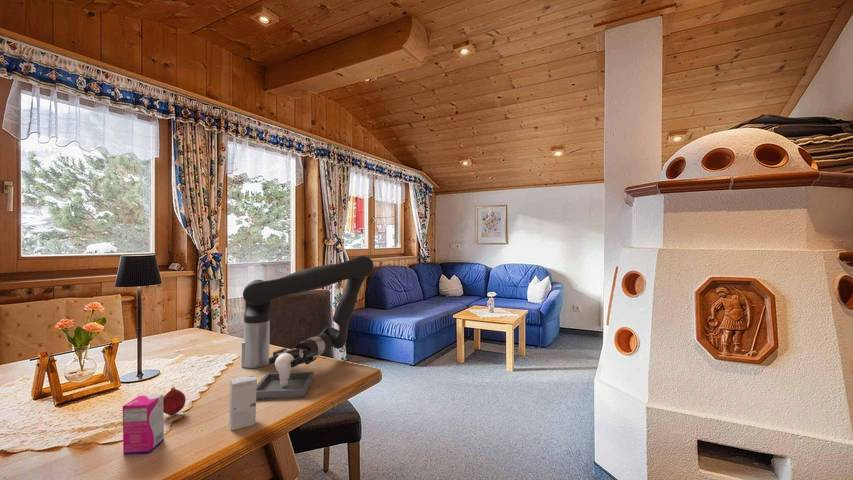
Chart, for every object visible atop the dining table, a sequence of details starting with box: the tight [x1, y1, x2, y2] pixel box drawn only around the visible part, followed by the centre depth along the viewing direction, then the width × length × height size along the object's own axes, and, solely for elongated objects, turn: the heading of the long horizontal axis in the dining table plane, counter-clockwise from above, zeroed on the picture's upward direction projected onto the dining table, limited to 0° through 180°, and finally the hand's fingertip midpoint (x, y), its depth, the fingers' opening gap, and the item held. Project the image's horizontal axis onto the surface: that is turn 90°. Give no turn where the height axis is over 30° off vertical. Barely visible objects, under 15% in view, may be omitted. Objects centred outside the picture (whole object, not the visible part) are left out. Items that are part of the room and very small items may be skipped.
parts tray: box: [256, 371, 315, 401], centre depth 121 cm, size 16×16×2 cm
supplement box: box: [122, 394, 165, 456], centre depth 86 cm, size 6×6×12 cm
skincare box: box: [228, 375, 258, 431], centre depth 97 cm, size 6×4×12 cm
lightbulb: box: [274, 353, 294, 387], centre depth 121 cm, size 6×6×11 cm
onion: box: [163, 386, 186, 417], centre depth 102 cm, size 6×6×8 cm
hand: (280, 362), depth 119 cm, fingers open, 8 cm apart
